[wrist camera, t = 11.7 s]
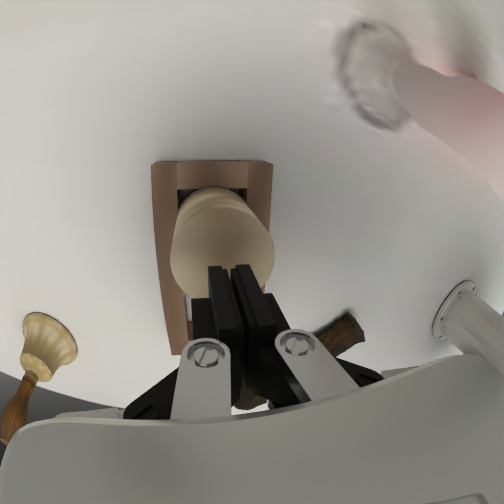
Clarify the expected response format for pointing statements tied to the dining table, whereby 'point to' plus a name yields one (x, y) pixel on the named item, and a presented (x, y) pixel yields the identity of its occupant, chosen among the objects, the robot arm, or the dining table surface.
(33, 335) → the hand bell
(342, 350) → the hand tool
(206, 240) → the oak peg
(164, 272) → the walnut board
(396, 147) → the dining table surface
